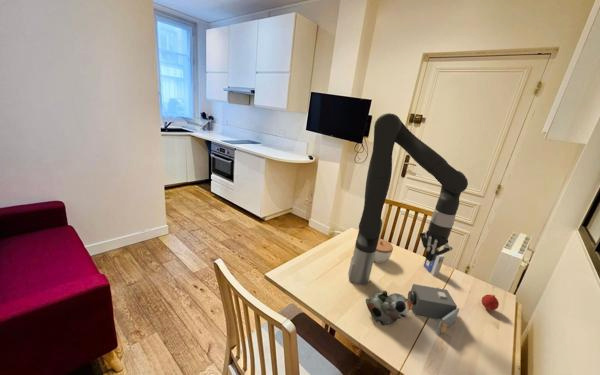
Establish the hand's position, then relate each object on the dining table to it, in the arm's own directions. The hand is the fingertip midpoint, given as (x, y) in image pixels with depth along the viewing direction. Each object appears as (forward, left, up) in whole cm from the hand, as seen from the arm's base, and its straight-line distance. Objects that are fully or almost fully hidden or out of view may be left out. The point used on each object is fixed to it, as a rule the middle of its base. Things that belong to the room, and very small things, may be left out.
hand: (429, 260), depth 100 cm
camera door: (+8, -13, -21) cm, 25 cm away
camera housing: (+4, -4, -21) cm, 22 cm away
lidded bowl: (-12, +28, -21) cm, 37 cm away
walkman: (+15, +25, -21) cm, 36 cm away
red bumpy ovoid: (+31, +3, -21) cm, 38 cm away
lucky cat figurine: (-15, -11, -21) cm, 28 cm away
